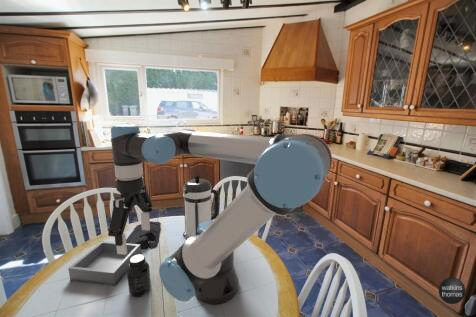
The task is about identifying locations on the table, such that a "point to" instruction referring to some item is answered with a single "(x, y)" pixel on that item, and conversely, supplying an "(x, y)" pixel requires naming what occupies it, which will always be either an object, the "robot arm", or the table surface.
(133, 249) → the bin
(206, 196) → the coffee press
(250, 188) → the robot arm
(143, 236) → the dark slate chunk
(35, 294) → the table surface
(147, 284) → the supplement bottle
